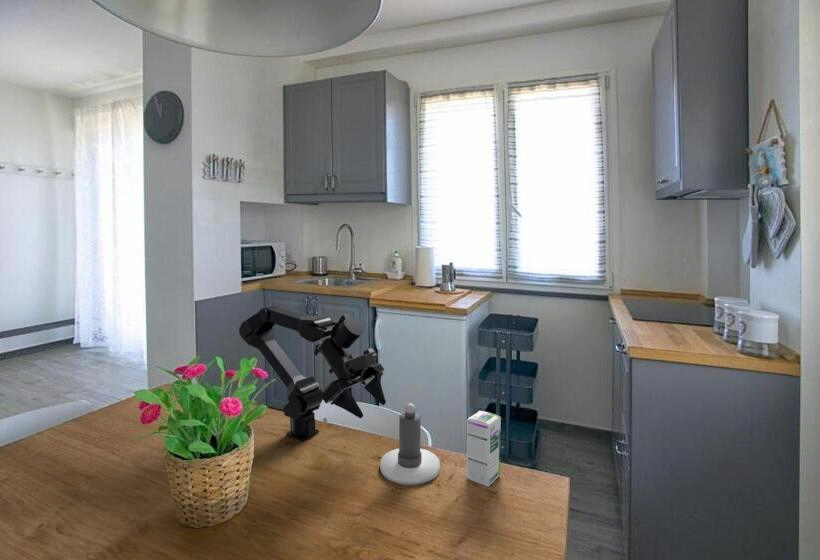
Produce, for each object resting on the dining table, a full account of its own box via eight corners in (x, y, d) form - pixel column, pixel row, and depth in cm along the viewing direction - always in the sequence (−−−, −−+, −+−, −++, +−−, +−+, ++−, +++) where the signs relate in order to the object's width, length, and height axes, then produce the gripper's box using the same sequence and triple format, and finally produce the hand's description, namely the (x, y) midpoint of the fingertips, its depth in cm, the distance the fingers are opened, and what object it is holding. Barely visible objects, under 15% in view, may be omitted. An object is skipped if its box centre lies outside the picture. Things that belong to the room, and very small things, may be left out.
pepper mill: (398, 468, 100) (398, 408, 98) (397, 456, 105) (397, 399, 104) (422, 467, 100) (423, 408, 99) (420, 455, 106) (421, 398, 104)
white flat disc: (368, 472, 101) (368, 466, 101) (402, 447, 113) (402, 442, 112) (419, 492, 93) (419, 485, 93) (449, 463, 105) (450, 457, 105)
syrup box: (488, 487, 95) (490, 424, 94) (465, 478, 99) (466, 417, 97) (500, 476, 100) (502, 415, 98) (477, 467, 103) (478, 409, 102)
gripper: (330, 348, 99) (369, 406, 94) (378, 332, 114) (413, 381, 110) (305, 375, 104) (341, 431, 99) (355, 357, 119) (388, 404, 115)
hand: (373, 410), depth 106 cm, fingers open, 9 cm apart
